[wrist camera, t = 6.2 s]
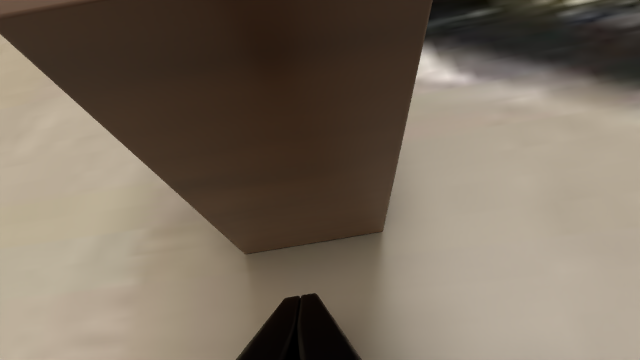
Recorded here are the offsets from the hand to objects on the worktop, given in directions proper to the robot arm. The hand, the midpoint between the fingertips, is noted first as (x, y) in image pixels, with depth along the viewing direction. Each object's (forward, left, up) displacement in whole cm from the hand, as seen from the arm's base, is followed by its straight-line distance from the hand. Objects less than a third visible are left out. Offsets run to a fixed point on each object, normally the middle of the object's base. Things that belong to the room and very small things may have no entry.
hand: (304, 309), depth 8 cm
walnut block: (+8, -2, -7) cm, 10 cm away
